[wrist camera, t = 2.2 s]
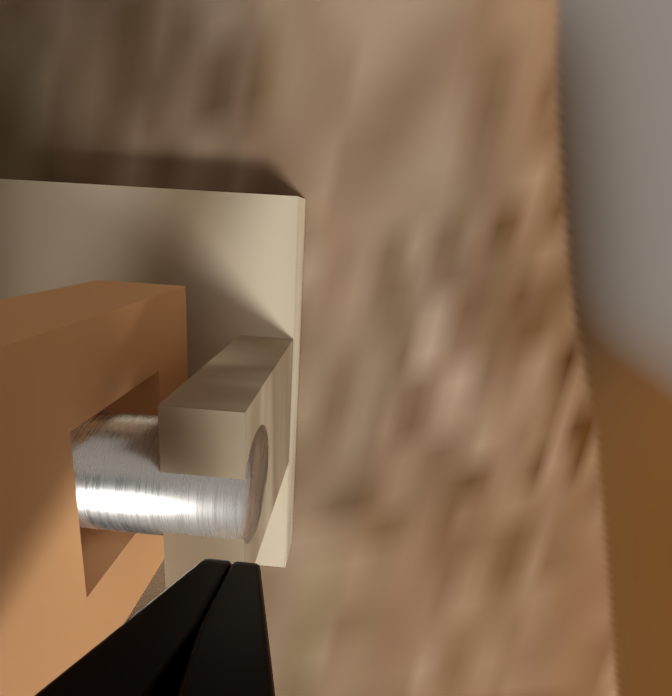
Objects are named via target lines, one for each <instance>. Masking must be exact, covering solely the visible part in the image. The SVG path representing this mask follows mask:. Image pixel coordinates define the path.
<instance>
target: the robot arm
mask: <svg viewBox="0 0 672 696" xmlns="http://www.w3.org/2000/svg"><path fill="white" fill-rule="evenodd" d="M34 696H275V689H274V681H273V673H272V664H271V656H270V647H269V639H268V630H267V622H266V613H265V605H264V596H263V588H262V579H261V571H260V566H259V565H258V564H257V563H249V562H239V561H236V562H234V563H231V562H230V561H228V560H220V559H210V558H208V559H204V560H202V561H201V562H200V563H198V564H197V565H196V566H195V567H193V568H192V569H191V570H190V571H188V572H187V573H186V574H185V575H183V576H182V577H181V578H180V579H178V580H177V581H176V582H175V583H173V584H172V585H171V586H170V587H168V588H167V589H166V590H165V591H164V592H162V593H161V594H160V595H159V596H157V597H156V598H155V599H154V600H152V601H151V602H150V603H149V604H147V605H146V606H145V607H144V608H142V609H141V610H140V611H139V612H137V613H136V614H135V615H134V616H132V617H131V618H130V619H129V620H128V621H126V622H125V623H124V624H123V625H121V626H120V627H119V628H118V629H116V630H115V631H114V632H113V633H111V634H110V635H109V636H108V637H106V638H105V639H104V640H103V641H101V642H100V643H99V644H98V645H96V646H95V647H94V648H93V649H92V650H90V651H89V652H88V653H87V654H85V655H84V656H83V657H82V658H80V659H79V660H78V661H77V662H75V663H74V664H73V665H72V666H70V667H69V668H68V669H67V670H65V671H64V672H63V673H62V674H60V675H59V676H58V677H57V678H56V679H54V680H53V681H52V682H51V683H49V684H48V685H47V686H46V687H44V688H43V689H42V690H41V691H39V692H38V693H37V694H36V695H34Z"/></svg>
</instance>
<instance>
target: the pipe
mask: <svg viewBox="0 0 672 696" xmlns="http://www.w3.org/2000/svg"><path fill="white" fill-rule="evenodd" d="M70 437H71V447H72V457H73V467H74V477H75V487H76V496H77V506H78V516H79V526H80V528H90V529H100V530H110V531H121V532H131V533H141V534H152V535H162V536H163V532H164V533H175V534H185V535H195V536H206V537H216V538H226V539H237V540H244V541H245V543H246V544H248V543H250V542H251V540H252V539H253V536H254V534H255V532H256V529H257V526H258V523H259V519H260V515H261V511H262V510H260V509H261V503H262V497H263V490H264V484H265V479H266V474H267V471H268V451H269V448H268V434H267V430H266V427H265V426H264V425H261V426H260V427H259V428H258V430H257V432H256V434H255V436H254V439H253V442H252V446H251V449H250V453H249V457H248V462H247V467H246V473H245V479H244V480H243V479H232V478H220V477H209V476H198V475H187V474H176V473H165V472H160V453H159V431H158V416H154V415H142V414H130V413H118V412H106V411H100V412H98V413H97V414H95V415H94V416H93V417H91V418H90V419H88V420H87V421H85V422H84V423H82V424H81V425H80V426H78V427H77V428H75V429H74V430H72V431H71V432H70ZM266 481H267V479H266ZM264 495H265V494H264ZM263 501H264V499H263ZM262 506H263V505H262Z"/></svg>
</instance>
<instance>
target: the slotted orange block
mask: <svg viewBox="0 0 672 696" xmlns="http://www.w3.org/2000/svg"><path fill="white" fill-rule="evenodd" d="M187 380H188V357H187V319H186V286H178V285H163V284H149V283H135V282H120V281H106V280H96V281H91V282H86V283H81V284H76V285H71V286H66V287H61V288H56V289H51V290H46V291H41V292H37V293H32V294H27V295H22V296H17V297H12V298H7V299H2V300H0V696H34V695H36V694H37V693H38V692H39V691H41V690H42V689H43V688H44V687H46V686H47V685H48V684H49V683H51V682H52V681H53V680H54V679H56V678H57V677H58V676H59V675H60V674H62V673H63V672H64V671H65V670H67V669H68V668H69V667H70V666H72V665H73V664H74V663H75V662H77V661H78V660H79V659H80V658H82V657H83V656H84V655H85V654H87V653H88V652H89V651H90V650H92V649H93V648H94V647H95V646H96V645H98V644H99V643H100V642H101V641H103V640H104V639H105V638H106V637H108V636H109V635H110V634H111V633H113V632H114V631H115V630H116V629H118V628H119V627H120V626H121V625H123V624H124V623H125V622H126V620H127V618H128V617H129V615H130V614H131V612H132V610H133V609H134V607H135V605H136V604H137V602H138V600H139V599H140V597H141V596H142V594H143V592H144V591H145V589H146V587H147V586H148V584H149V582H150V581H151V579H152V578H153V576H154V574H155V573H156V571H157V569H158V568H159V566H160V564H161V563H162V561H163V560H164V541H163V536H162V535H152V534H141V533H131V532H121V531H110V530H100V529H90V528H80V526H79V516H78V506H77V496H76V487H75V477H74V467H73V457H72V447H71V437H70V432H71V431H72V430H74V429H75V428H77V427H78V426H80V425H81V424H82V423H84V422H85V421H87V420H88V419H90V418H91V417H93V416H94V415H95V414H97V413H98V412H100V411H106V412H118V413H130V414H142V415H154V416H158V409H157V405H159V404H160V403H161V402H162V401H163V400H164V399H166V398H167V397H168V396H169V395H170V394H171V393H173V392H174V391H175V390H176V389H177V388H178V387H180V386H181V385H182V384H183V383H184V382H185V381H187Z"/></svg>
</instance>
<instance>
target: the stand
mask: <svg viewBox="0 0 672 696" xmlns="http://www.w3.org/2000/svg"><path fill="white" fill-rule="evenodd" d="M305 206H306V199H304V198H301V197H299V196H285V195H268V194H251V193H234V192H217V191H200V190H183V189H166V188H149V187H132V186H115V185H98V184H81V183H64V182H47V181H30V180H13V179H0V300H2V299H7V298H12V297H17V296H22V295H27V294H32V293H37V292H41V291H46V290H51V289H56V288H61V287H66V286H71V285H76V284H81V283H86V282H91V281H96V280H106V281H120V282H135V283H149V284H163V285H178V286H186V319H187V357H188V380H187V381H185V382H184V383H183V384H182V385H181V386H180V387H178V388H177V389H176V390H175V391H174V392H173V393H171V394H170V395H169V396H168V397H167V398H166V399H164V400H163V401H162V402H161V403H160V404H159V405H157V409H158V431H159V453H160V472H165V473H176V474H187V475H198V476H209V477H220V478H232V479H243V480H244V479H245V473H246V467H247V462H248V457H249V453H250V449H251V446H252V442H253V439H254V436H255V434H256V432H257V430H258V428H259V427H260V426H261V425H264V426H265V427H266V430H267V434H268V448H269V451H268V471H267V474H266V479H267V481H266V479H265V484H264V490H263V497H262V503H261V509H260V510H262V511H261V515H260V519H259V523H258V526H257V529H256V532H255V534H254V536H253V539H252V540H251V542H250V543H248V544H246V543H245V541H244V540H237V539H226V538H216V537H206V536H195V535H185V534H175V533H164V532H163V541H164V562H165V584H166V589H167V588H168V587H170V586H171V585H172V584H173V583H175V582H176V581H177V580H178V579H180V578H181V577H182V576H183V575H185V574H186V573H187V572H188V571H190V570H191V569H192V568H193V567H195V566H196V565H197V564H198V563H200V562H201V561H202V560H204V559H208V558H210V559H220V560H228V561H230V562H231V563H234V562H236V561H239V562H249V563H257V564H258V565H266V566H276V567H285V566H286V562H287V558H288V553H289V549H290V545H291V541H292V530H293V505H294V480H295V455H296V430H297V405H298V380H299V355H300V330H301V305H302V280H303V255H304V230H305ZM264 494H265V495H264ZM263 499H264V501H263ZM262 505H263V506H262Z"/></svg>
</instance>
